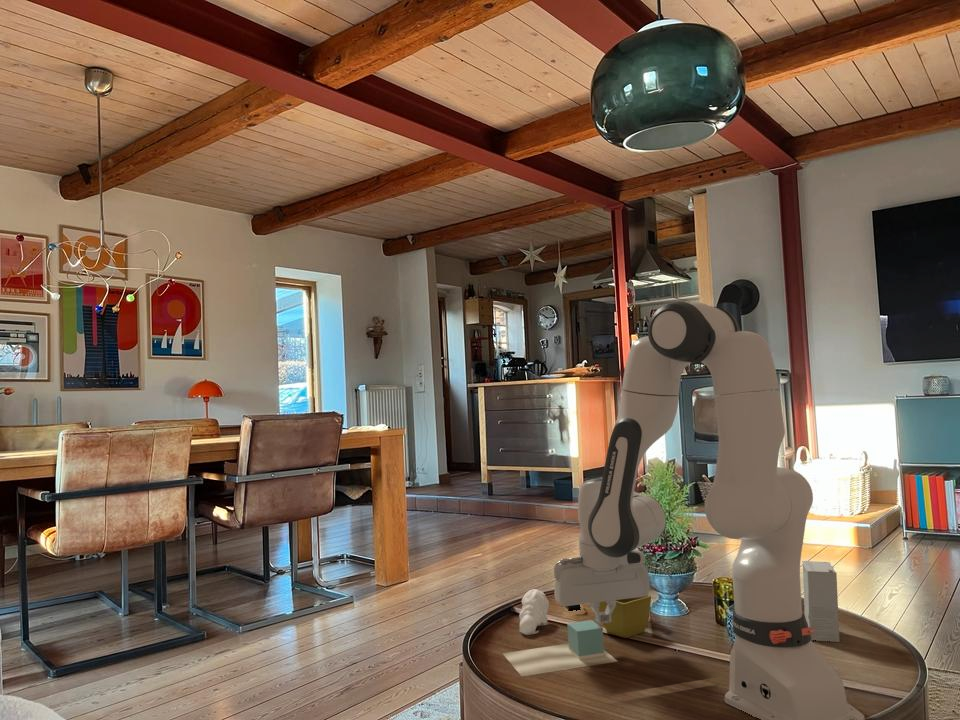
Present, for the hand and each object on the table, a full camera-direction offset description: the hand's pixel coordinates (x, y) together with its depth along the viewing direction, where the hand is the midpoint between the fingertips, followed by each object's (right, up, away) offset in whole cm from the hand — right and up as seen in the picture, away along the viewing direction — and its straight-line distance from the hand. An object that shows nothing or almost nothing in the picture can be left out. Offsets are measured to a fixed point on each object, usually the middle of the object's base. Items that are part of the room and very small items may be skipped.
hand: (603, 621), depth 149 cm
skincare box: (+47, -5, +4) cm, 48 cm away
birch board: (-10, -7, -4) cm, 12 cm away
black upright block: (-2, -9, +31) cm, 32 cm away
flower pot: (+7, -7, +9) cm, 13 cm away
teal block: (-4, -6, -2) cm, 7 cm away
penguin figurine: (-14, -8, +15) cm, 22 cm away
